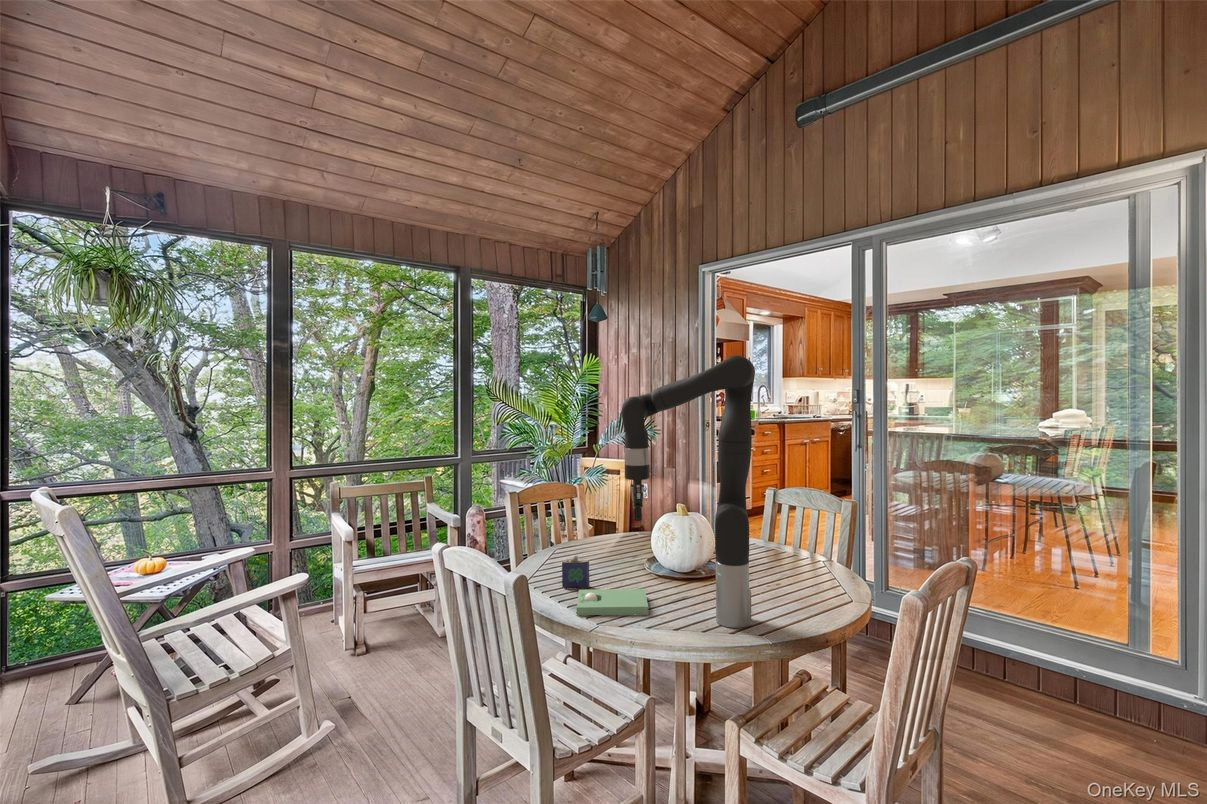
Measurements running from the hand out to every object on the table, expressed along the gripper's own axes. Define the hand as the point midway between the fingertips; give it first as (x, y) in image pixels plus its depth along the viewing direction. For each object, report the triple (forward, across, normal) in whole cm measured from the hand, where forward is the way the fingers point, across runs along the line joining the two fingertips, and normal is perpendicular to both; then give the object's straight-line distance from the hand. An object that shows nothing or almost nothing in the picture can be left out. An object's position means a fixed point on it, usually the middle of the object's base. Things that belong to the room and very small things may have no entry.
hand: (637, 520), depth 169 cm
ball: (+25, +3, +15) cm, 29 cm away
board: (+27, +3, +8) cm, 28 cm away
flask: (+27, +20, +20) cm, 39 cm away
